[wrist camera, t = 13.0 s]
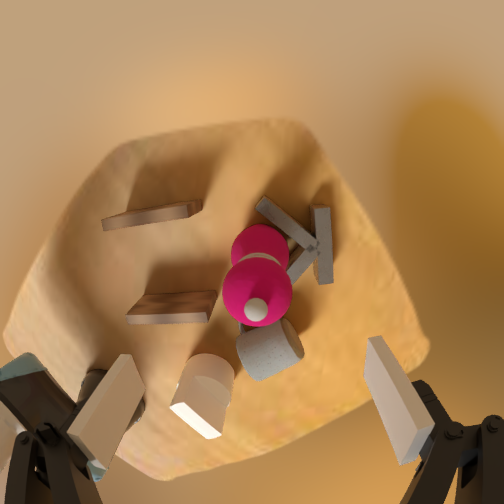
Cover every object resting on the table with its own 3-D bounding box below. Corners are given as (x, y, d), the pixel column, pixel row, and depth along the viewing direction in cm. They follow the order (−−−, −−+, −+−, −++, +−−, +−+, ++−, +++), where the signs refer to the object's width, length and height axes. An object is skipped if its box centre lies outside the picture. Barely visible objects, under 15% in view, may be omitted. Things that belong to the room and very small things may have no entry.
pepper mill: (237, 217, 38) (208, 261, 19) (290, 223, 38) (314, 274, 19) (232, 267, 40) (204, 348, 21) (282, 273, 40) (295, 359, 21)
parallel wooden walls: (145, 303, 42) (128, 324, 36) (125, 212, 39) (101, 219, 32) (216, 299, 42) (208, 322, 35) (200, 199, 38) (186, 204, 31)
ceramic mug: (304, 340, 43) (310, 369, 35) (261, 361, 44) (259, 391, 37) (272, 289, 41) (272, 313, 33) (226, 313, 42) (218, 340, 35)
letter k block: (266, 292, 41) (266, 304, 37) (255, 196, 37) (253, 198, 33) (327, 285, 40) (333, 296, 36) (322, 189, 36) (328, 191, 33)
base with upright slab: (244, 379, 46) (239, 430, 34) (206, 396, 47) (194, 443, 36) (213, 345, 44) (198, 395, 32) (175, 364, 46) (154, 411, 34)
